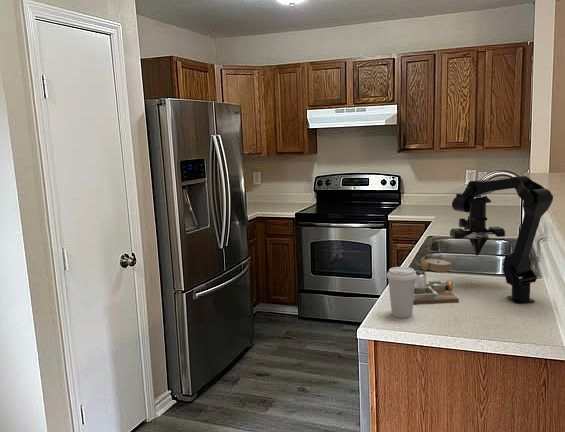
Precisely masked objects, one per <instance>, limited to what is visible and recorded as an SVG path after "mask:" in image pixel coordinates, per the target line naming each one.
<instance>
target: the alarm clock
mask: <svg viewBox="0 0 565 432" xmlns="http://www.w3.org/2000/svg"><path fill="white" fill-rule="evenodd" d="M415 265H416V266H418V267H420V270H422V271H425V272H426V271H432V272H438V273H439V272H440V273H445V272H450V271H452V269H453V267H452V261H451V260H448V259H444V258H438V257H430V258H428V256H422V257H421V258H420V260H419V259H417V260H416V261H415Z"/></svg>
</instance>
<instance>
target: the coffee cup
mask: <svg viewBox="0 0 565 432" xmlns="http://www.w3.org/2000/svg"><path fill="white" fill-rule="evenodd" d="M386 277H387V279H388V281H387V282H388V288H389V289H388V290H389V298H390V310H391V316H393V317H395V318H399V319H408V318H411V317H412V316H413V310H414V309H413V308H414V305H413V299H414V288H415V278H417V275H416V273H415V269H414V268H412V267H407V266H406V267H405V266H395V267H391V268H389V270H388V272H387V273H386Z"/></svg>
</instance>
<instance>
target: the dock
mask: <svg viewBox="0 0 565 432" xmlns="http://www.w3.org/2000/svg"><path fill="white" fill-rule="evenodd" d="M433 283H442V281H440V280H428V284H433ZM459 299H460V298H458V297H457V296H456V295H455V294H453V292H452V291H451V292H450V291H449V290H448V289H446V290H445V285H444V284H438V285H433V289H432V288H431V287H430V286H427V294H415V288H414V299H413V306H414V305H431V304H448V303H449V304H450V303H451V304H452V303H453V304H455V303H459V302H460V301H459Z"/></svg>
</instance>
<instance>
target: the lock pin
mask: <svg viewBox="0 0 565 432" xmlns="http://www.w3.org/2000/svg"><path fill="white" fill-rule="evenodd" d="M438 284H444V285H445V290H446V289H448V290H449V291H450V292H451V293H452V292H453V289H454V287H453V286H454V285H453V282H452V280H445V282H441V283H433V284H429V283H427V286H430V287H431V288H432V289H433V285H438Z"/></svg>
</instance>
